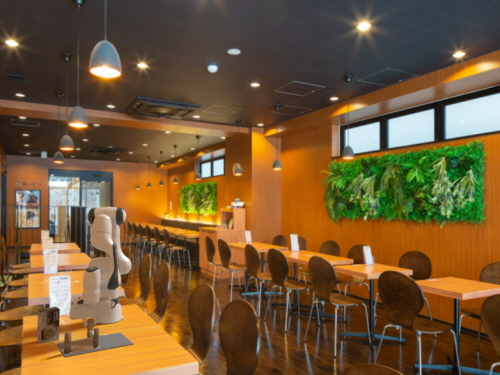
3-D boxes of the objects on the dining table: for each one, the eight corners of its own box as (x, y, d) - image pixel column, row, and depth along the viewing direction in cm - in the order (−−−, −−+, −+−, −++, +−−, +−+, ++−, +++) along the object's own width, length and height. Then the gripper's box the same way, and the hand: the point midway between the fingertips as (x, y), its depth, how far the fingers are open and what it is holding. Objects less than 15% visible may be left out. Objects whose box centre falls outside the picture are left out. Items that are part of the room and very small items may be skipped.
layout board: (56, 344, 196) (57, 343, 196) (120, 333, 214) (120, 332, 215) (64, 357, 178) (64, 356, 178) (133, 344, 196) (133, 343, 196)
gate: (92, 346, 192) (92, 325, 192) (86, 338, 203) (86, 319, 204) (98, 345, 193) (99, 324, 194) (92, 337, 205) (92, 318, 205)
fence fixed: (63, 352, 184) (64, 332, 184) (97, 345, 193) (98, 327, 193) (64, 354, 181) (65, 334, 182) (99, 347, 190) (99, 328, 191)
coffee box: (55, 336, 207) (56, 306, 209) (59, 339, 203) (60, 308, 204) (36, 340, 201) (37, 309, 202) (40, 343, 197) (41, 311, 198)
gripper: (109, 295, 212) (108, 320, 211) (69, 299, 201) (68, 327, 200) (112, 297, 207) (112, 323, 206) (71, 302, 195) (70, 330, 195)
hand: (90, 325), depth 203 cm, fingers open, 3 cm apart
